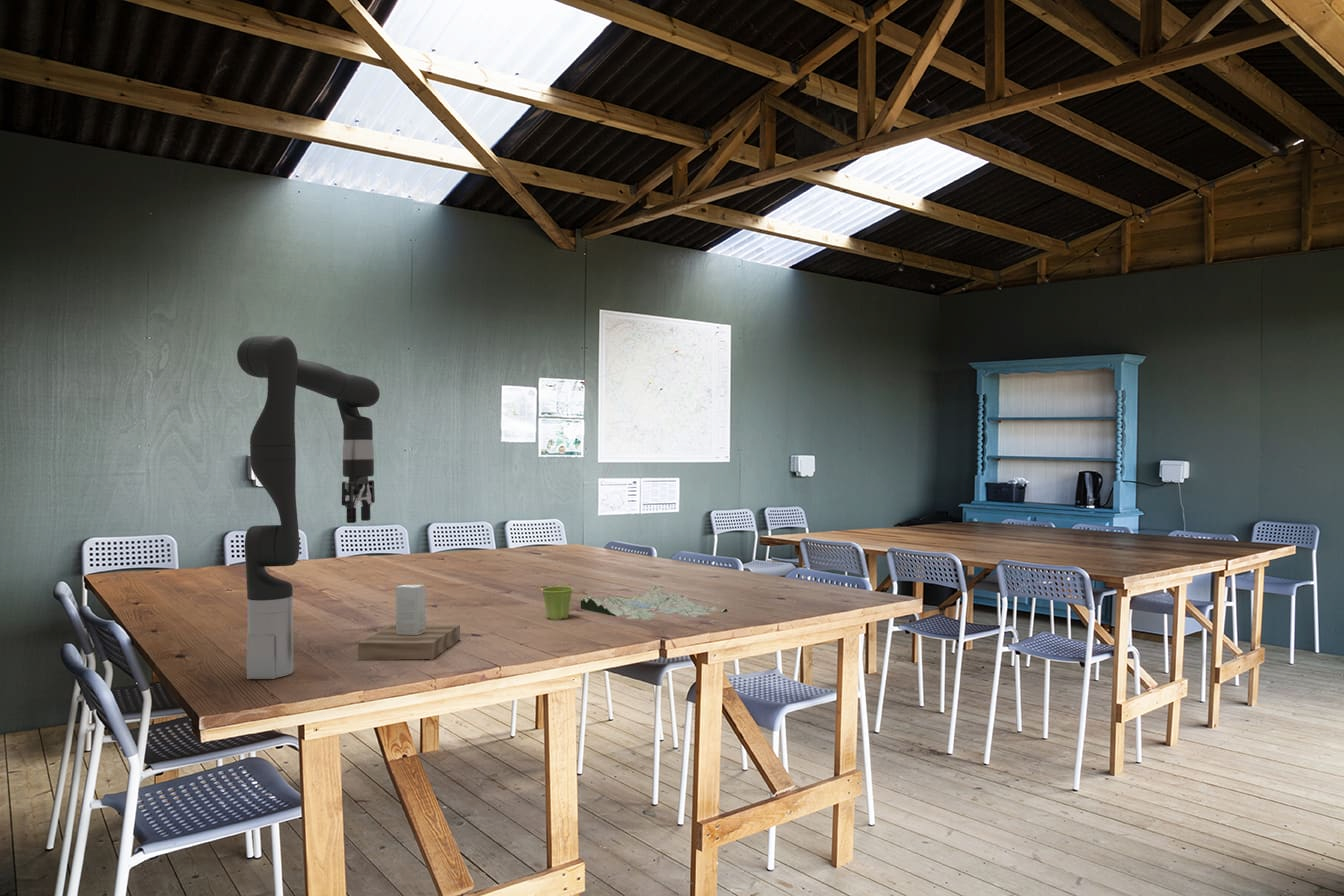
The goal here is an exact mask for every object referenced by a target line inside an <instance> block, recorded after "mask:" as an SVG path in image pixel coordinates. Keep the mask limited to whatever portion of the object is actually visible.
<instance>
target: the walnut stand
mask: <svg viewBox="0 0 1344 896" xmlns="http://www.w3.org/2000/svg"><path fill="white" fill-rule="evenodd" d="M458 640H461V625H460V624H426V632H424V633H422V634H419V635H397V634H396V624H392V625H390V626H387V627H386V628H384V629H382V630H381V631H378V632H376V633H375V634H372V635H370V636H369V637H367V638H365V639H363V640H361V641H360V642H358V643H357V659H358V660H357V661H390V660H391V661H401V660H400V659H423V660H422V661H425V660H424V659H430V660H429V661H433V660H435V659H436V658H437V657H439V656H440V655H441V654H442V652H443V651H444V650H446V649H447V648H448V649H450V648H451V647H453V646H454V645H455V644H457V643H458V642H459V641H458ZM457 641H458V642H457ZM456 642H457V643H456ZM454 643H455V644H454ZM453 644H454V645H453ZM452 645H453V646H452ZM450 646H451V647H450ZM449 647H450V648H449ZM448 649H447V650H448ZM447 650H446V651H447ZM444 652H445V651H444ZM444 652H443V653H444ZM440 653H441V654H440ZM439 654H440V655H439ZM438 655H439V656H438ZM435 657H436V658H435ZM434 658H435V659H434ZM395 659H396V660H395ZM398 659H399V660H398Z"/></svg>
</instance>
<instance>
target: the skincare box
mask: <svg viewBox="0 0 1344 896" xmlns="http://www.w3.org/2000/svg"><path fill="white" fill-rule="evenodd" d="M395 621H396V622H395V623H396V624H395V625H396V634H397V635H419V634H422V633H424V632H426V625H427V624H426V585H425V584H402V585H398V586H395Z"/></svg>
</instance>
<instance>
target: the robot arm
mask: <svg viewBox="0 0 1344 896" xmlns="http://www.w3.org/2000/svg"><path fill="white" fill-rule="evenodd" d="M236 358H237V359H236V360H237V364H238V365H239V366H240V368H241V370H242V371H243V372H244V373H245V374H248V376H251V377H255V378H261V379H264V378H265V379H267V395H266V399H265V400H266V401H265V403H264V407H263V408H262V410H261V413H260V415H259V417H258V418H257V421H256V422H255V424H254V427H252V431H251V434H250V436H249V437H250V438H249V450H250V451H249V453H250V456H249V457H250V467H251V471H252V473H253V474H254V475H255V477H256V478H257V480H258V482H259V483H260V484H261V486H262V487H263V489H264V490H265V492H267V493H268V495H269V496H270V498H271V500H272V501H273V503H274V505H275V507H276V509H277V514H278V516H279V521H280V524H271V525H269V524H267V525H264V524H263V525H253V526H250V527H249V528H248V529H247V530H246V533H245V537H244V559H245V576H246V580H245V581H246V591H247V593H246V597H247V598H246V599H247V601H246V602H247V604H246V605H247V611H246V612H247V615H246V617H247V619H246V620H247V635H246V637H245V638H246V645H245V646H246V680H275V679H277V678H282V677H285V676H289V675H292V674H293V673H294V628H293V627H294V618H293V617H294V613H293V610H294V609H293V607H294V606H293V603H294V602H293V599H294V598H293V597H294V596H293V595H294V593H293V591H294V590H293V588H294V587H293V585H292V583H291V582H289V581H287V580H283V579H279V578H277V577H274V576H273V575H271V574H270V573H268V572H267V571H266V568H267V567H268V568H270V567H289V566H294V565H296V564H297V562H298V560H299V557H300V533H299V519H298V511H297V498H296V497H297V496H296V495H297V494H296V493H297V492H296V491H297V490H296V489H297V488H296V487H297V485H296V473H297V472H296V471H297V470H296V468H297V461H296V460H297V458H296V457H297V455H296V454H297V453H296V451H297V449H296V434H295V433H296V432H295V431H296V430H295V429H296V428H295V424H296V423H295V419H296V418H295V416H296V415H295V414H296V413H295V412H296V411H295V410H296V409H295V408H296V407H295V406H296V391H297V389H296V388H297V387H300V388H303V389H306V390H307V391H308V390H309V391H311V392H315V393H317V394H319V395H321V396H324V397H327V398H330V399H334V400H336V403H337V407H338V411H339V414H340V417H341V421H342V425H343V427H342V428H343V434H342V435H343V436H342V437H343V441H342V443H343V444H342V475H343V477H344V478H348V481H347V480H346V481H341V507H342V506H343V507H345V508H346V523H347V524H355V523H356V522H357V506H358V503H359V502H360V505H361V506H360V517H361V518H360V520H361V521H362V522H364V521H370V520H371V507H372V505H373V504H375V500H376V499H375V498H376V497H375V495H376V494H375V481H374V480H373V479H369V477H373V476H374V475H375V454H374V453H375V451H374V450H375V447H374V441H373V436H374V435H373V433H374V432H373V421H372V419H371V418H370V417H366V416H362V414H360V411H359V409H358V408H369V407H372V406H374V405H375V404H377V403H378V402H379V399H380V394H381V393H380V389H379V386H378V385H377V384H376V383H375V382H374V381H373V380H372V379H370V378H368V377H363V376H359V375H356V374H349V373H345V372H343V371H341V370H339V369H337V368H334V367H332V366H329V365H327V364H323V363H319V362H314V361H310V360H306V359H301V358H298V351H297V348H296V346H295V344H294V342H293V340H292V339H291V338H289V337H288V336H285V335H262V336H261V335H256V336H252V337H247V338H246V339H244V340H242V341H241V343H240V344H239V346H238V348H237V351H236Z"/></svg>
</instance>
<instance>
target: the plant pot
mask: <svg viewBox="0 0 1344 896" xmlns="http://www.w3.org/2000/svg"><path fill="white" fill-rule="evenodd" d="M573 591H574V587H572V586H563V585H562V586H559V585H557V586H549V587H548V586H547V587H543V588H541V592H542V596H543V599H544V604H545V611H546V618H547V619H550V620H552V621H555V620H556V621H560V620H562V619H567V618H569V614H570V613H569V612H570V611H569V610H570V605H571V604H570V603H571V596H572V595H573V594H572V592H573Z"/></svg>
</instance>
